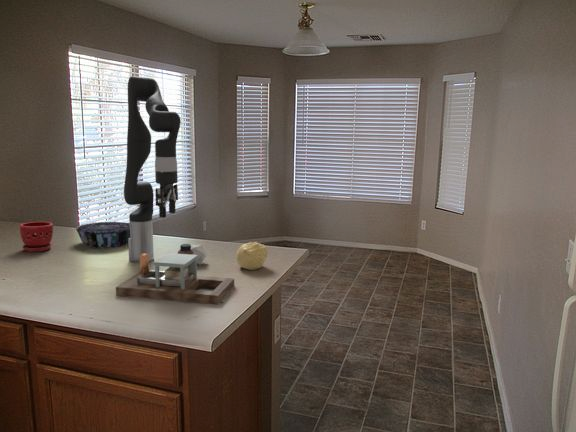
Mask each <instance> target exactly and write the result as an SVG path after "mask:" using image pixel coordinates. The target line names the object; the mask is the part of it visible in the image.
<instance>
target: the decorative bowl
mask: <svg viewBox="0 0 576 432" xmlns="http://www.w3.org/2000/svg"><path fill="white" fill-rule="evenodd" d="M75 230H76V232H77V234H78V236H79V238H80V241H81V242H82V244H83V245H85V246H87V247H90V248H93V249H112V248H113V249H114V248H119V247H124V246H126V244H127V245H128V239H129V238H130V222H120V221H101V222H91V223H90V222H89V223H85V224H81V225H77V226H76V227H75Z"/></svg>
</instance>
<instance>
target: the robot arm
mask: <svg viewBox="0 0 576 432" xmlns="http://www.w3.org/2000/svg"><path fill="white" fill-rule="evenodd" d="M138 102H145V105H144V106H145V110H146V113H147V114H148V116H149V117H148V125H149V128H150V129H149V128H148V126H147V125H146V123H145V121H144V120H143V117H142V116H141V114H140V110H139V106H138ZM127 111H128V114H127V115H128V116H127V136H126V137H127V138H126V169H125V178H124V185H123V197H124V201H125V203H126V204H127V205H129V206H138V205H139V206H138V207H137V209H135V210H134V211H132V212H130V213H129V217H128V218H129V222H128V223H130V238H129V239H128V244H127V245H128V260H129V261H132V262H134V263H140V256H139V255H140V254H143V253H147V254H148V257H149V262H150V261H153V260H154V259H155V258H154V257H155V256H154V233H153V231H154V229H153V215H154V198H155V206H156V207H158V215H159V218H167V203H168V212H169V214H175V213H176V203H177V201H178V200H179V191H178V187H179V186H178V184H177V183H178V178H179V177H178V161H177V141H178V135H179V132H180V127H181V123H182V122H181V117H180V115H179V114H178V112H176V111H170V110H169V108H168V107H167V105H166V103H165V102H164V100H163V97H162V94H161V89H160V87H159V84H158V81H156V80H155V79H154V78H152V77H146V76H145V77H144V76H138V75H137V76H136V75H131V76H130V77H129V78H128V81H127ZM150 130H151V131H153V132H155V133H168V135H167V137H165V138H161V139H157V140H155V143H154V150H155V151H154V154H155V161H154V171H155V178H154V180H155V183H156V184H158V185H159V187H158V188H155V190H154V188H153V186H152V184H151V183H150V182H149V181H138V179H139V174H140V172H141V170H142V168H143V166H144V164H145V163H146V161H147V160H148V158H149V156H150V154H151V151H152V134H151V132H150ZM154 191H155V197H154Z"/></svg>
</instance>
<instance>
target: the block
mask: <svg viewBox="0 0 576 432" xmlns="http://www.w3.org/2000/svg"><path fill="white" fill-rule="evenodd" d="M164 271H165V279H174V280H181V270H180V268H179V267H170V268H169V267H168V268H167V269H165V270H164ZM187 276H188V267H185V278H186V277H187Z"/></svg>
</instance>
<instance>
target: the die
mask: <svg viewBox="0 0 576 432" xmlns="http://www.w3.org/2000/svg"><path fill="white" fill-rule="evenodd" d="M190 245H191V250H193V255H198V259H197V265H198V266H199V265H200V266H201V265H202V264H203V263H204V260H205V258H206V257H207V253H206V251H205V249H204V247H203V244H190Z"/></svg>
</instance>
